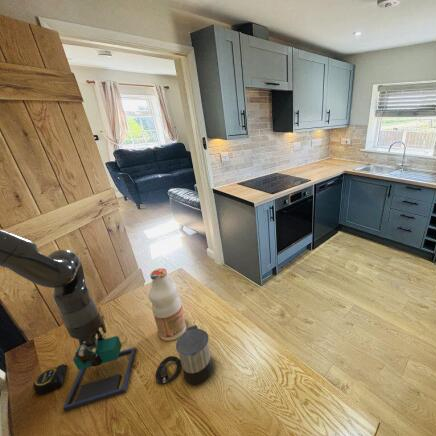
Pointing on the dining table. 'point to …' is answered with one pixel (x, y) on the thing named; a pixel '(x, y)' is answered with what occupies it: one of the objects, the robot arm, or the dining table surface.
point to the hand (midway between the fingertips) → (100, 356)
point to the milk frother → (190, 358)
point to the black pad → (98, 387)
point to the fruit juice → (166, 306)
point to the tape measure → (50, 379)
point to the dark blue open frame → (70, 405)
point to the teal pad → (103, 351)
